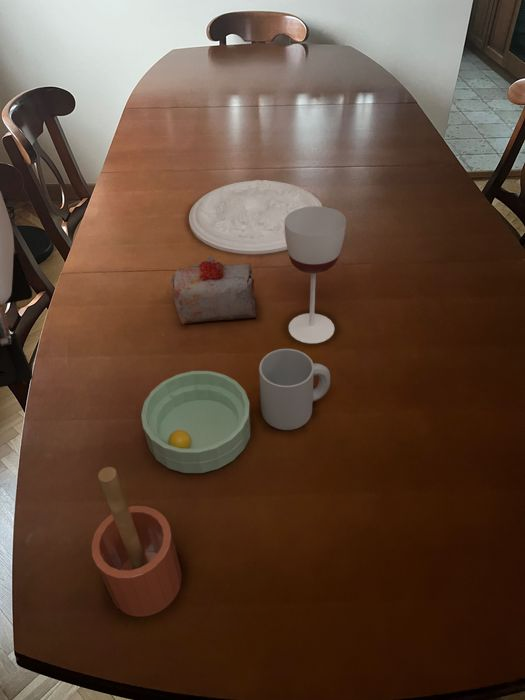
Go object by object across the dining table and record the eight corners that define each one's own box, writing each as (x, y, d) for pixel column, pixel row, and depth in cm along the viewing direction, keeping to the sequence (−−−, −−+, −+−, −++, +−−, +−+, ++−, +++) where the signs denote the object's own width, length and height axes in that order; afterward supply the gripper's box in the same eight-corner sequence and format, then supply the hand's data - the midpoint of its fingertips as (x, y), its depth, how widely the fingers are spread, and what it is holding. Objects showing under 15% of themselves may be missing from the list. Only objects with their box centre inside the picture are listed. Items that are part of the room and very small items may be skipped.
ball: (167, 428, 77) (188, 423, 78) (162, 441, 79) (181, 435, 80) (177, 447, 75) (197, 441, 77) (171, 459, 77) (191, 454, 79)
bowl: (156, 487, 75) (149, 464, 72) (141, 407, 85) (135, 383, 82) (263, 460, 78) (262, 436, 74) (236, 385, 88) (234, 361, 84)
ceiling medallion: (352, 218, 121) (353, 204, 119) (245, 272, 109) (244, 257, 107) (265, 172, 137) (264, 159, 135) (163, 214, 125) (161, 200, 123)
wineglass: (280, 316, 99) (279, 210, 85) (330, 309, 100) (337, 203, 86) (290, 347, 93) (291, 239, 80) (343, 340, 94) (353, 231, 81)
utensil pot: (113, 626, 63) (94, 587, 56) (106, 558, 68) (88, 516, 62) (187, 604, 64) (177, 564, 58) (175, 539, 70) (164, 497, 64)
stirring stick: (139, 588, 65) (99, 483, 51) (136, 575, 66) (96, 469, 52) (153, 583, 65) (117, 478, 52) (150, 570, 66) (114, 464, 53)
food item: (175, 330, 97) (167, 282, 91) (176, 300, 103) (168, 253, 96) (257, 323, 98) (255, 275, 91) (254, 294, 104) (251, 246, 97)
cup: (254, 400, 85) (252, 355, 79) (319, 383, 87) (321, 339, 81) (270, 437, 80) (269, 393, 74) (338, 418, 82) (342, 374, 76)
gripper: (-129, 71, 39) (-32, 282, 50) (-204, 193, 26) (-52, 435, 38) (-9, 57, 40) (58, 266, 52) (-27, 167, 28) (67, 409, 39)
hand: (11, 338), depth 45 cm, fingers open, 9 cm apart
